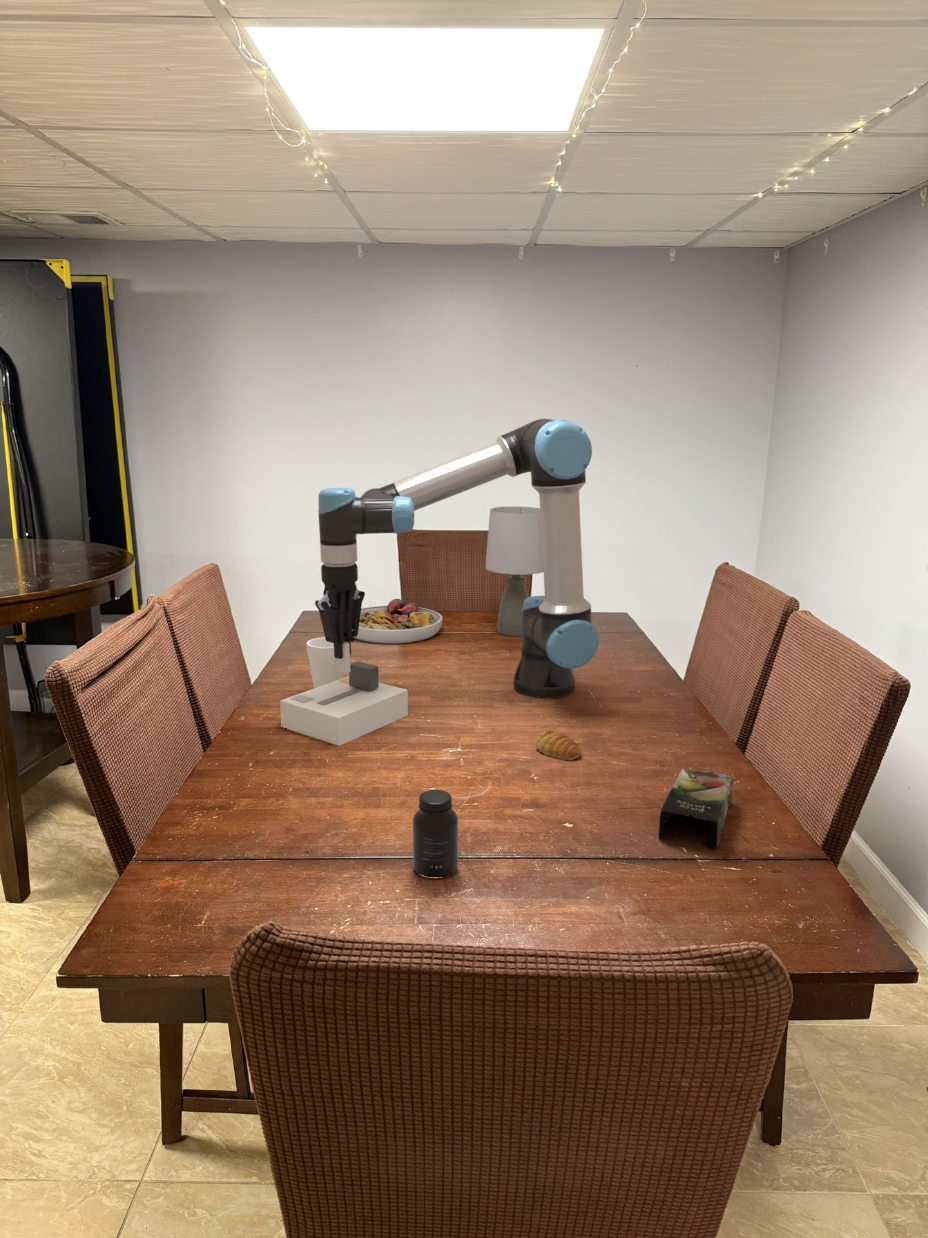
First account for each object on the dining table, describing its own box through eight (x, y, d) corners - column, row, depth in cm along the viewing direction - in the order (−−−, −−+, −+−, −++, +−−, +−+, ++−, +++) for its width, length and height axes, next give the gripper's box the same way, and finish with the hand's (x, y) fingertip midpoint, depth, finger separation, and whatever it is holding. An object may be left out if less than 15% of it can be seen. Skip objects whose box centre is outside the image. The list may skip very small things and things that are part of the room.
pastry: (588, 756, 175) (589, 739, 175) (566, 765, 171) (567, 747, 170) (553, 742, 182) (554, 725, 181) (531, 751, 178) (532, 733, 177)
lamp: (487, 622, 276) (490, 505, 267) (546, 625, 274) (551, 506, 264) (480, 638, 258) (482, 513, 249) (543, 641, 256) (548, 515, 246)
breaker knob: (378, 687, 194) (378, 666, 193) (369, 691, 192) (369, 669, 191) (358, 682, 198) (358, 661, 197) (349, 685, 195) (348, 664, 194)
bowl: (440, 647, 249) (441, 621, 247) (335, 646, 249) (334, 619, 247) (443, 621, 278) (443, 597, 276) (348, 620, 278) (348, 595, 276)
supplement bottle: (412, 858, 136) (412, 786, 133) (456, 856, 136) (457, 785, 133) (413, 881, 129) (413, 807, 126) (459, 880, 130) (460, 806, 127)
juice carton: (677, 791, 160) (679, 761, 159) (732, 802, 157) (736, 771, 155) (655, 842, 142) (657, 808, 141) (717, 856, 139) (720, 821, 137)
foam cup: (340, 703, 203) (339, 649, 199) (302, 700, 204) (300, 646, 201) (353, 690, 212) (352, 638, 208) (316, 687, 213) (315, 635, 210)
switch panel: (407, 715, 196) (407, 689, 194) (339, 746, 178) (338, 717, 177) (351, 699, 205) (350, 674, 204) (281, 727, 188) (280, 699, 186)
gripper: (347, 556, 189) (351, 661, 195) (303, 566, 179) (309, 676, 185) (373, 560, 185) (376, 667, 191) (330, 570, 175) (334, 682, 181)
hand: (343, 671), depth 188 cm, fingers closed
